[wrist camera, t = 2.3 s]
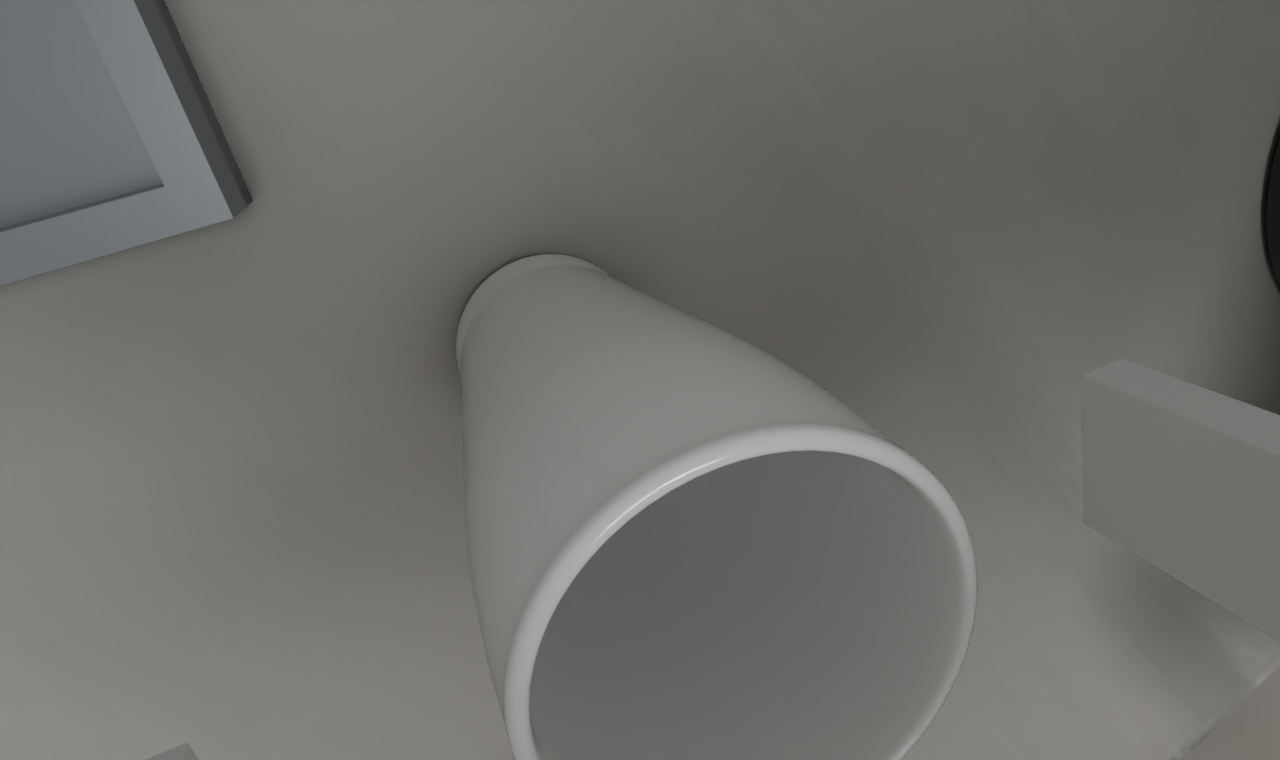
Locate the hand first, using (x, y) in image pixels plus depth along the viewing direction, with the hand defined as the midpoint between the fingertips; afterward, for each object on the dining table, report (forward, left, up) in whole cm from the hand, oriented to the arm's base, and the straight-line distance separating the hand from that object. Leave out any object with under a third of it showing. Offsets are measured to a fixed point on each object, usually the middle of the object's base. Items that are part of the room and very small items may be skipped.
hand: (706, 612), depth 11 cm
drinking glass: (0, 0, -14) cm, 14 cm away
